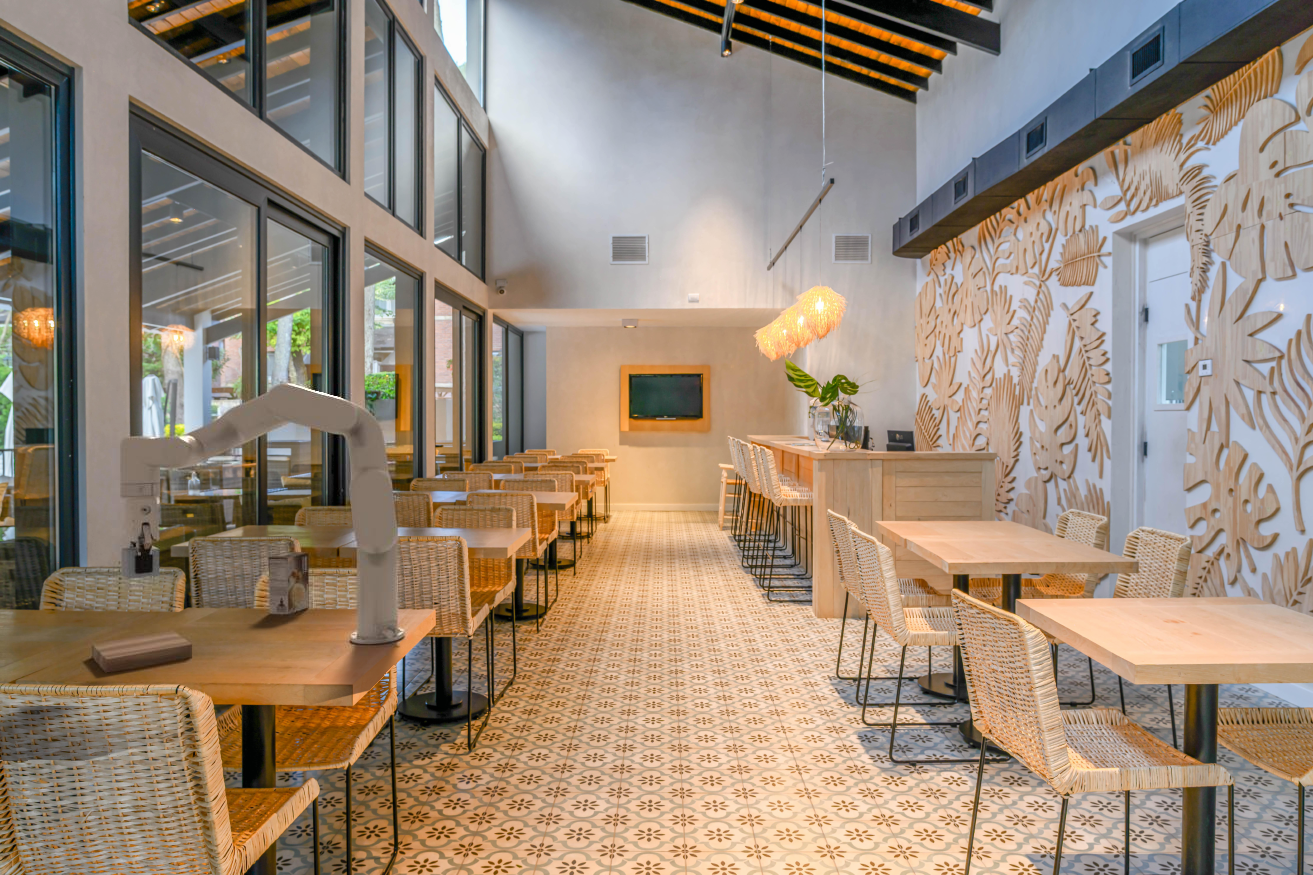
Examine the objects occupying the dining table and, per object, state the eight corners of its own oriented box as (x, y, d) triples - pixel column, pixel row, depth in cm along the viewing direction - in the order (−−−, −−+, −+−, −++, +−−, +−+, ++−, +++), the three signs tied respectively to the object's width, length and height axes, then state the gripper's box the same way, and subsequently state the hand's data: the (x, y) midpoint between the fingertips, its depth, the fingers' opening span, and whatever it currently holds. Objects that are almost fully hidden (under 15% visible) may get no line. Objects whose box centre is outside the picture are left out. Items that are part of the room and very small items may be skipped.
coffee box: (290, 606, 224) (289, 551, 224) (309, 607, 223) (309, 552, 223) (268, 614, 215) (267, 556, 215) (288, 615, 214) (288, 557, 214)
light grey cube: (159, 575, 174) (159, 548, 174) (127, 578, 170) (127, 551, 170) (152, 571, 178) (152, 545, 178) (121, 575, 174) (121, 548, 174)
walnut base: (192, 657, 175) (191, 644, 174) (106, 673, 163) (106, 659, 163) (173, 643, 186) (173, 630, 186) (92, 657, 175) (92, 644, 175)
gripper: (169, 492, 171) (169, 574, 171) (150, 488, 183) (150, 564, 183) (128, 494, 165) (129, 578, 165) (112, 489, 178) (112, 567, 178)
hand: (140, 570), depth 174 cm, fingers closed on light grey cube, 6 cm apart
